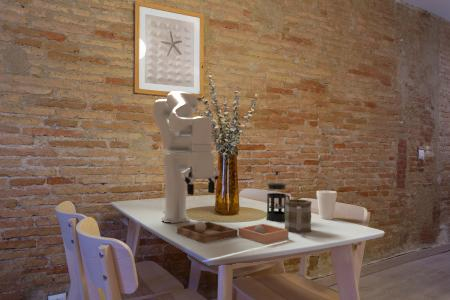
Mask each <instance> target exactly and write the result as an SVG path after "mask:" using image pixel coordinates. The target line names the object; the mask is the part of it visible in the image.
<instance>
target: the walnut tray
mask: <svg viewBox="0 0 450 300" xmlns="http://www.w3.org/2000/svg"><path fill="white" fill-rule="evenodd" d="M204 223H205V225H206V230H205V231H204V232H203V233H198V232H196V230H195V224H196V223H193V224H184V225H180V226H176V234H178V235H181V236H183V237H186V238H189V239H192V240H193V241H196V242H200V243H202V244H207V243H211V242H217V241H222V240H226V239H231V238H236V237H239V229H236V228H233V227H230V226H226V225H223V224H219V223H215V222H212V221H205V222H204Z"/></svg>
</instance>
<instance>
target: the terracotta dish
mask: <svg viewBox="0 0 450 300" xmlns="http://www.w3.org/2000/svg"><path fill="white" fill-rule="evenodd" d="M258 225H260V226H263V227H264V228H265V234H261V233H257V232H254V231H253V230H254V228H255V227H256V226H258ZM238 237H241V238H243V239H247V240H251V241H255V242H256V243H257V242H258V243H261V244H264V245H265V244H267V243H268V244H269V243H272V242H277V241H279V240H284V239H289V232H288V230H287V229H285V228H282V227H278V226H275V225H270V224H267V223H259V224H254V225H253V224H252V225H248V226H242V227H238Z"/></svg>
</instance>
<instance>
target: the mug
mask: <svg viewBox="0 0 450 300" xmlns="http://www.w3.org/2000/svg"><path fill="white" fill-rule="evenodd" d="M311 221H312V201H311V200H308V199H307V200H306V199H299V198H297V199H295V198H294V199H293V198H292V199H291V198H290V199H289V200H288V199H286V200H285V221H284V229H287V230H288V233H293V234H308V233H310V232H312V227H311V226H312V224H311V223H312V222H311Z"/></svg>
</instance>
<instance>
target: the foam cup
mask: <svg viewBox="0 0 450 300" xmlns="http://www.w3.org/2000/svg"><path fill="white" fill-rule="evenodd" d="M337 198H338V192H337V191H335V190H316V199H317V206H318V207H317V208H318V216H319V219H321V220H329V221H330V220H333V219H334V215H335V210H336V202H337Z"/></svg>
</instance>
